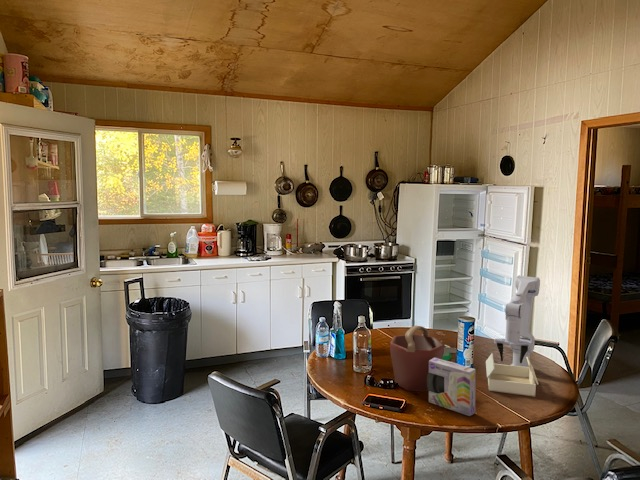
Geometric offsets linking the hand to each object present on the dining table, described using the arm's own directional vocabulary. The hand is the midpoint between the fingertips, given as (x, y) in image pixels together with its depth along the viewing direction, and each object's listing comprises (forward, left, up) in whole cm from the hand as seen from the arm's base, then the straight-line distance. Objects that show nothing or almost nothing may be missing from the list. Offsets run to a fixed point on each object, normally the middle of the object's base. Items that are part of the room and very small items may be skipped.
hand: (511, 361), depth 213 cm
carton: (0, 0, -10) cm, 10 cm away
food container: (-14, -29, -10) cm, 34 cm away
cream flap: (0, +8, -3) cm, 9 cm away
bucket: (+12, -40, -10) cm, 43 cm away
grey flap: (0, -8, -3) cm, 9 cm away
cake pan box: (+31, -24, -11) cm, 41 cm away
